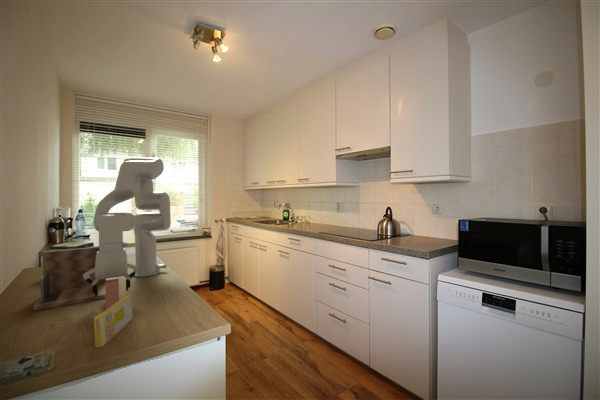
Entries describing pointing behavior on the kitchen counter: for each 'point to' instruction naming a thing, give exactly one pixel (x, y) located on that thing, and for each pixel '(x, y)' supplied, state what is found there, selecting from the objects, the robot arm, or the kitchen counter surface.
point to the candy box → (112, 320)
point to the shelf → (70, 276)
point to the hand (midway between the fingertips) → (112, 292)
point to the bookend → (47, 290)
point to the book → (112, 291)
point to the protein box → (70, 246)
